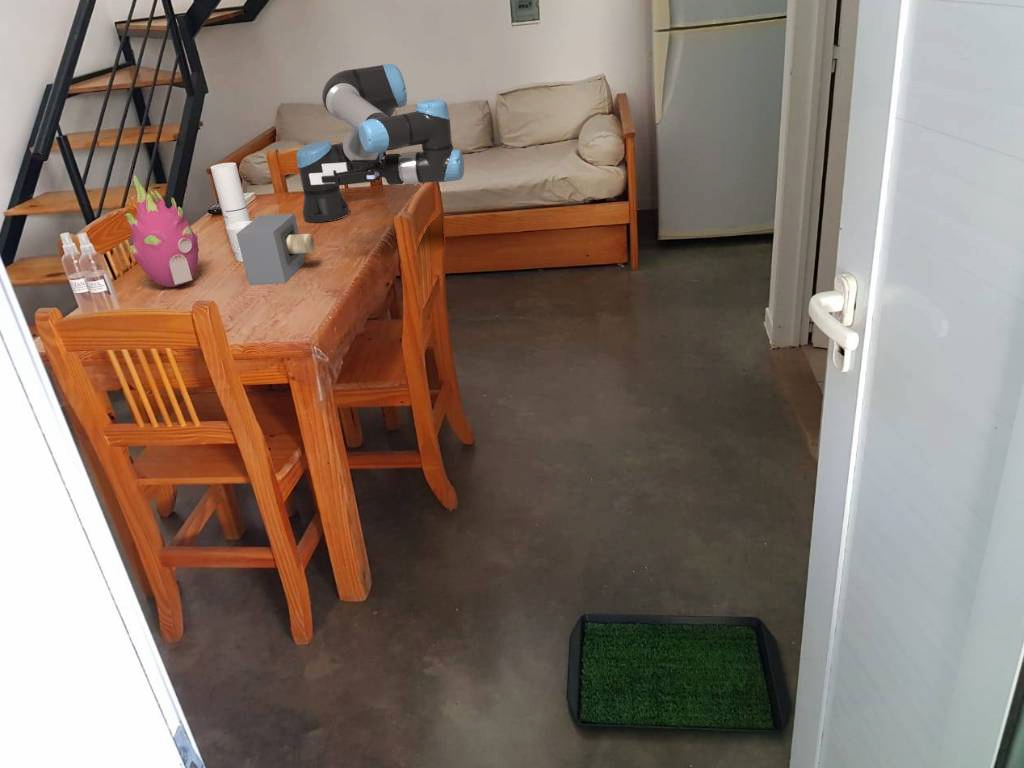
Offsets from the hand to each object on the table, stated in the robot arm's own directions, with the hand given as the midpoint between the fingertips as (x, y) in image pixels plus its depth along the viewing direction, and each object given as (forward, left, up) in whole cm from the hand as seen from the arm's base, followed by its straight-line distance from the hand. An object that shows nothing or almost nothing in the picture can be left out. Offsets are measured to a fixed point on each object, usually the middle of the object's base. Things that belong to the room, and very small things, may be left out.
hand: (316, 174), depth 199 cm
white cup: (+15, -31, -26) cm, 43 cm away
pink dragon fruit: (+37, -23, -26) cm, 50 cm away
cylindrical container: (+13, -41, -26) cm, 50 cm away
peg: (+8, -7, -21) cm, 23 cm away
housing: (+13, -11, -26) cm, 31 cm away
